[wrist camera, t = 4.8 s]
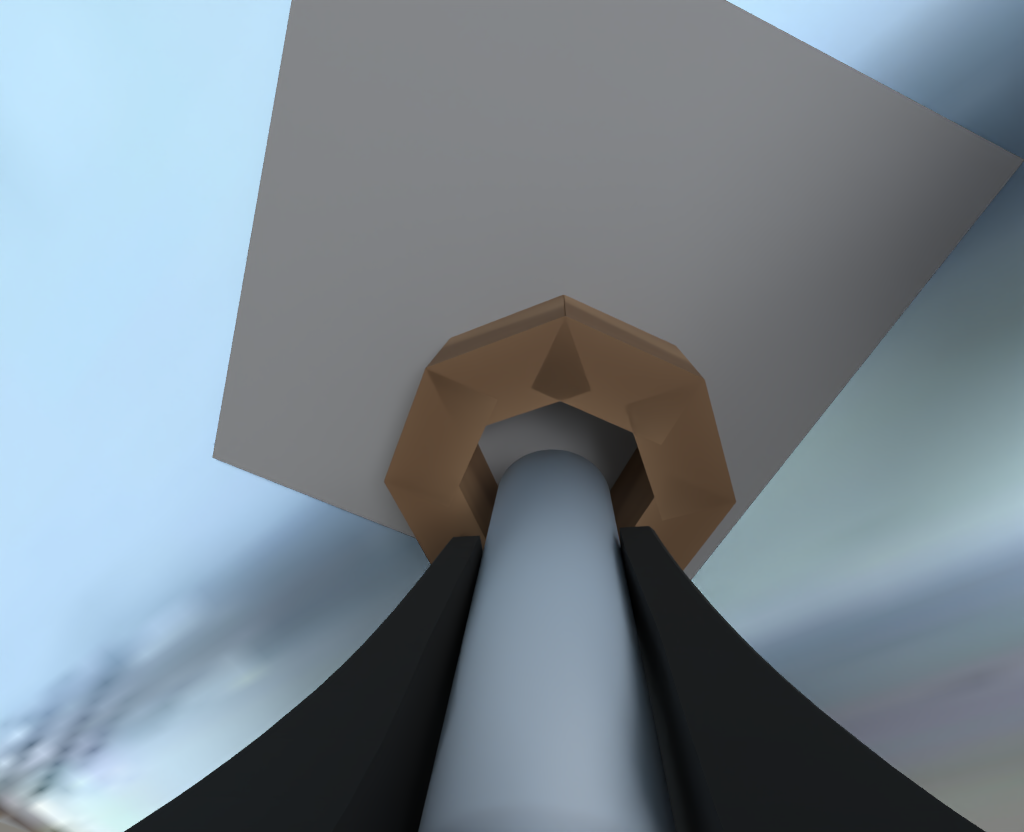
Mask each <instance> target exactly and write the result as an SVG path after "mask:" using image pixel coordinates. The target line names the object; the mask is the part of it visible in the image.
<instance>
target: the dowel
mask: <svg viewBox="0 0 1024 832" xmlns="http://www.w3.org/2000/svg"><path fill="white" fill-rule="evenodd" d="M418 832H676V828H675V823H674V818H673V813H672V808H671V803H670V797H669V792H668V787H667V782H666V777H665V772H664V767H663V762H662V756H661V751H660V746H659V741H658V736H657V731H656V726H655V721H654V715H653V710H652V705H651V700H650V695H649V690H648V685H647V680H646V674H645V669H644V664H643V659H642V654H641V649H640V644H639V639H638V634H637V628H636V623H635V618H634V613H633V608H632V603H631V598H630V593H629V588H628V583H627V578H626V573H625V568H624V563H623V557H622V552H621V546H620V541H619V536H618V531H617V526H616V521H615V516H614V511H613V505H612V500H611V495H610V490H609V486H608V484H607V481H606V479H605V478H604V476H603V474H602V473H601V472H600V470H599V469H598V468H597V467H596V466H595V465H594V464H593V463H591V462H590V461H589V460H587V459H586V458H584V457H582V456H580V455H578V454H575V453H572V452H569V451H564V450H555V449H550V450H541V451H536V452H533V453H530V454H527V455H525V456H523V457H521V458H520V459H518V460H517V461H515V462H514V463H513V464H512V465H511V466H510V467H509V468H508V469H507V470H506V472H505V473H504V475H503V476H502V478H501V481H500V483H499V486H498V490H497V494H496V499H495V503H494V507H493V512H492V516H491V520H490V525H489V529H488V533H487V537H486V542H485V546H484V550H483V555H482V559H481V563H480V568H479V572H478V576H477V581H476V585H475V589H474V593H473V598H472V602H471V606H470V611H469V615H468V619H467V624H466V628H465V632H464V636H463V641H462V645H461V649H460V654H459V658H458V662H457V667H456V671H455V675H454V679H453V684H452V688H451V692H450V697H449V701H448V705H447V710H446V714H445V718H444V723H443V727H442V731H441V735H440V740H439V744H438V748H437V753H436V757H435V761H434V766H433V770H432V774H431V778H430V783H429V787H428V791H427V796H426V800H425V804H424V809H423V813H422V817H421V821H420V826H419V830H418Z"/></svg>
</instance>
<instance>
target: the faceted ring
mask: <svg viewBox="0 0 1024 832" xmlns="http://www.w3.org/2000/svg"><path fill="white" fill-rule="evenodd" d="M559 401H561V402H564V403H566V404H568V405H571V406H573V407H575V408H577V409H580V410H582V411H584V412H587V413H589V414H591V415H594V416H596V417H598V418H600V419H603V420H605V421H607V422H610V423H612V424H614V425H616V426H619V427H621V428H623V429H626V430H628V431H630V432H632V433H633V434H634V437H635V440H636V443H637V446H638V447H637V448H636V450H635V452H634V453H633V455H632V456H631V458H630V460H629V461H628V463H627V464H626V466H625V468H624V469H623V471H622V472H621V474H620V476H619V477H618V479H617V480H616V482H615V484H614V485H613V487H612V488H611V490H610V495H611V500H612V505H613V511H614V516H615V521H616V526H617V531H618V536H619V541H620V528H621V527H639V526H650V527H651V528H652V529H653V530H654V531H655V532H656V534H657V535H658V537H659V538H660V540H661V541H662V543H663V544H664V546H665V547H666V549H667V550H668V552H669V553H670V554H671V556H672V557H673V558H674V560H675V561H676V562H677V564H678V565H679V566H680V568H681V569H682V570H684V569H685V568H686V566H687V565H688V564H689V563H690V561H691V560H692V559H693V557H694V556H695V555H696V554H697V552H698V551H699V550H700V548H701V547H702V546H703V545H704V543H705V542H706V541H707V539H708V538H709V537H710V535H711V534H712V533H713V532H714V530H715V529H716V528H717V526H718V525H719V524H720V523H721V521H722V520H723V519H724V517H725V516H726V515H727V514H728V512H729V511H730V510H731V508H732V507H733V506H734V505H735V503H736V499H735V495H734V491H733V487H732V483H731V479H730V475H729V471H728V468H727V464H726V460H725V456H724V452H723V448H722V444H721V440H720V437H719V433H718V429H717V425H716V421H715V417H714V413H713V409H712V405H711V402H710V398H709V394H708V390H707V386H706V382H705V379H704V378H703V377H702V376H701V375H700V373H699V372H698V371H697V370H696V369H695V367H694V366H693V365H692V364H691V363H690V362H689V360H688V359H687V358H686V357H685V356H684V355H683V353H682V352H681V351H680V350H679V349H678V348H677V346H675V345H673V344H671V343H669V342H667V341H665V340H662V339H660V338H658V337H656V336H654V335H651V334H649V333H647V332H645V331H643V330H641V329H638V328H636V327H634V326H632V325H630V324H627V323H625V322H623V321H621V320H619V319H617V318H614V317H612V316H610V315H608V314H606V313H603V312H601V311H599V310H597V309H595V308H592V307H590V306H588V305H586V304H584V303H582V302H579V301H577V300H575V299H573V298H571V297H568V296H566V295H561V296H558V297H556V298H553V299H550V300H548V301H545V302H542V303H540V304H537V305H535V306H532V307H529V308H527V309H524V310H522V311H519V312H516V313H514V314H511V315H509V316H506V317H503V318H501V319H498V320H496V321H493V322H490V323H488V324H485V325H483V326H480V327H477V328H475V329H472V330H470V331H467V332H464V333H462V334H459V335H457V336H454V337H451V338H450V339H449V340H448V341H447V342H446V344H445V345H444V346H443V347H442V349H441V350H440V351H439V352H438V353H437V355H436V356H435V357H434V358H433V360H432V361H431V362H430V363H429V364H428V366H427V367H426V368H425V370H424V373H423V376H422V379H421V381H420V384H419V387H418V389H417V392H416V395H415V398H414V400H413V403H412V406H411V409H410V411H409V414H408V417H407V419H406V422H405V425H404V428H403V430H402V433H401V436H400V438H399V441H398V444H397V447H396V449H395V452H394V455H393V458H392V460H391V463H390V466H389V468H388V471H387V474H386V477H385V479H384V483H385V485H386V486H387V488H388V490H389V492H390V493H391V495H392V497H393V499H394V500H395V502H396V504H397V506H398V507H399V509H400V511H401V513H402V514H403V516H404V518H405V520H406V522H407V523H408V525H409V527H410V529H411V530H412V532H413V534H414V536H415V537H416V539H417V541H418V543H419V544H420V546H421V548H422V550H423V551H424V553H425V555H426V557H427V558H428V560H429V562H430V564H432V563H433V561H434V560H435V559H436V558H437V556H438V555H439V554H440V552H441V551H442V550H443V549H444V547H445V546H446V545H447V544H448V542H449V541H450V540H451V539H452V538H453V537H463V536H480V539H481V544H482V549H483V550H484V546H485V542H486V537H487V533H488V529H489V525H490V520H491V516H492V512H493V507H494V503H495V499H496V494H497V490H498V485H497V483H496V481H495V479H494V477H493V475H492V472H491V470H490V468H489V466H488V464H487V462H486V460H485V457H484V455H483V453H482V451H481V449H480V447H479V445H478V442H479V440H480V438H481V436H482V433H483V431H484V429H485V427H486V425H489V424H492V423H496V422H499V421H502V420H505V419H508V418H511V417H514V416H517V415H520V414H523V413H526V412H529V411H532V410H535V409H538V408H541V407H544V406H547V405H550V404H553V403H556V402H559Z"/></svg>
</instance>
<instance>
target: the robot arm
mask: <svg viewBox="0 0 1024 832" xmlns="http://www.w3.org/2000/svg"><path fill="white" fill-rule="evenodd" d="M620 546H621V552H622V557H623V563H624V568H625V573H626V578H627V583H628V588H629V593H630V598H631V603H632V608H633V613H634V618H635V623H636V628H637V634H638V639H639V644H640V649H641V654H642V659H643V664H644V669H645V674H646V680H647V685H648V690H649V695H650V700H651V705H652V710H653V715H654V721H655V726H656V731H657V736H658V741H659V746H660V751H661V756H662V762H663V767H664V772H665V777H666V782H667V787H668V792H669V797H670V803H671V808H672V813H673V818H674V823H675V828H676V832H985V831H984V830H982V829H980V828H979V827H977V826H976V825H974V824H973V823H971V822H970V821H968V820H967V819H965V818H964V817H962V816H961V815H959V814H958V813H956V812H955V811H953V810H952V809H951V808H949V807H948V806H946V805H945V804H943V803H942V802H941V801H939V800H938V799H936V798H935V797H934V796H932V795H931V794H929V793H928V792H927V791H925V790H924V789H923V788H921V787H920V786H918V785H917V784H916V783H914V782H913V781H912V780H910V779H909V778H907V777H906V776H905V775H903V774H902V773H901V772H899V771H898V770H896V769H895V768H894V767H892V766H891V765H890V764H888V763H887V762H886V761H885V760H883V759H882V758H881V757H880V756H878V755H877V754H876V753H875V752H873V751H872V750H871V749H869V748H868V747H867V746H866V745H864V744H863V743H862V742H861V741H859V740H858V739H857V738H856V737H854V736H853V735H852V734H850V733H849V732H848V731H847V730H845V729H844V728H843V727H842V726H840V725H839V724H838V723H837V722H835V721H834V720H833V719H831V718H830V717H829V716H828V715H826V714H825V713H824V712H823V711H822V710H820V709H819V708H818V707H817V706H816V705H815V704H813V703H812V702H811V701H810V700H809V699H808V698H806V697H805V696H804V695H803V694H802V693H801V692H800V691H798V690H797V689H796V688H795V687H794V686H793V685H791V684H790V683H789V682H788V681H787V680H786V679H785V678H784V677H783V676H782V675H780V674H779V673H778V672H777V671H776V670H775V669H774V668H773V667H772V666H771V665H770V664H769V663H767V662H766V661H765V660H764V659H763V658H762V657H761V656H760V655H759V654H758V653H757V652H756V651H755V650H754V649H753V648H752V647H751V646H750V645H749V644H748V643H747V642H746V641H745V640H744V639H743V638H742V637H741V636H740V635H739V634H738V633H737V632H736V631H735V630H734V629H733V628H732V627H731V625H730V624H729V623H728V622H727V621H726V620H725V619H724V618H723V617H722V616H721V615H720V614H719V613H718V611H717V610H716V609H715V608H714V607H713V606H712V605H711V604H710V603H709V601H708V600H707V599H706V598H705V597H704V595H703V594H702V593H701V592H700V591H699V590H698V588H697V587H696V586H695V585H694V584H693V583H692V581H691V580H690V579H689V578H688V576H687V575H686V574H685V573H684V571H683V570H682V569H681V568H680V566H679V565H678V564H677V562H676V561H675V560H674V558H673V557H672V556H671V554H670V553H669V552H668V550H667V549H666V547H665V546H664V544H663V543H662V541H661V540H660V538H659V537H658V535H657V534H656V532H655V531H654V530H653V529H652V528H651V527H650V526H639V527H621V528H620ZM482 555H483V549H482V544H481V539H480V536H463V537H453V538H452V539H451V540H450V541H449V542H448V544H447V545H446V546H445V547H444V549H443V550H442V551H441V552H440V554H439V555H438V556H437V558H436V559H435V560H434V561H433V563H432V564H431V565H430V567H429V568H428V569H427V570H426V572H425V573H424V574H423V576H422V577H421V578H420V579H419V581H418V582H417V583H416V584H415V585H414V587H413V588H412V589H411V590H410V592H409V593H408V594H407V595H406V596H405V598H404V599H403V600H402V601H401V602H400V604H399V605H398V606H397V607H396V608H395V610H394V611H393V612H392V613H391V614H390V615H389V616H388V617H387V619H386V620H385V621H384V622H383V623H382V624H381V625H380V626H379V627H378V628H377V630H376V631H375V632H374V633H373V634H372V635H371V636H370V637H369V638H368V639H367V641H366V642H365V643H364V644H363V645H362V646H361V647H360V648H359V649H358V650H357V651H356V652H355V653H354V654H353V655H352V656H351V657H350V658H349V659H348V660H347V661H346V662H345V663H344V664H343V665H342V666H341V667H340V668H339V669H338V670H337V671H336V672H335V673H333V674H332V675H331V676H330V677H329V678H328V679H327V680H326V681H325V682H324V683H323V684H322V685H321V686H319V687H318V688H317V689H316V690H315V691H314V692H313V693H312V694H310V695H309V696H308V697H307V698H306V699H304V700H303V701H302V702H301V703H300V704H298V705H297V706H296V707H295V708H294V709H292V710H291V711H290V712H289V713H288V714H286V715H285V716H284V717H283V718H282V719H280V720H279V721H278V722H277V723H276V724H274V725H273V726H272V727H271V728H270V729H268V730H267V731H266V732H265V733H264V734H262V735H261V736H260V737H258V738H257V739H256V740H255V741H253V742H252V743H251V744H249V745H248V746H247V747H245V748H244V749H243V750H241V751H240V752H239V753H238V754H236V755H235V756H234V757H232V758H231V759H230V760H228V761H227V762H225V763H224V764H223V765H221V766H220V767H219V768H217V769H216V770H214V771H213V772H212V773H210V774H209V775H208V776H206V777H205V778H203V779H202V780H201V781H199V782H198V783H196V784H195V785H193V786H192V787H191V788H189V789H188V790H186V791H185V792H183V793H182V794H181V795H179V796H178V797H176V798H175V799H173V800H172V801H170V802H169V803H167V804H166V805H164V806H162V807H161V808H159V809H158V810H156V811H155V812H153V813H152V814H150V815H149V816H147V817H146V818H144V819H143V820H141V821H140V822H138V823H137V824H135V825H134V826H132V827H131V828H129V829H128V830H126V831H124V832H418V830H419V826H420V821H421V817H422V813H423V809H424V804H425V800H426V796H427V791H428V787H429V783H430V778H431V774H432V770H433V766H434V761H435V757H436V753H437V748H438V744H439V740H440V735H441V731H442V727H443V723H444V718H445V714H446V710H447V705H448V701H449V697H450V692H451V688H452V684H453V679H454V675H455V671H456V667H457V662H458V658H459V654H460V649H461V645H462V641H463V636H464V632H465V628H466V624H467V619H468V615H469V611H470V606H471V602H472V598H473V593H474V589H475V585H476V581H477V576H478V572H479V568H480V563H481V559H482Z"/></svg>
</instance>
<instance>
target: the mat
mask: <svg viewBox="0 0 1024 832" xmlns="http://www.w3.org/2000/svg"><path fill="white" fill-rule="evenodd" d="M1023 161H1024V159H1022V158H1020V157H1018V156H1016V155H1014V154H1013V153H1011V152H1009V151H1007V150H1005V149H1003V148H1001V147H999V146H998V145H996V144H994V143H992V142H990V141H988V140H986V139H984V138H983V137H981V136H979V135H977V134H975V133H973V132H971V131H969V130H968V129H966V128H964V127H962V126H960V125H958V124H956V123H955V122H953V121H951V120H949V119H947V118H945V117H943V116H941V115H940V114H938V113H936V112H934V111H932V110H930V109H928V108H926V107H925V106H923V105H921V104H919V103H917V102H915V101H913V100H911V99H910V98H908V97H906V96H904V95H902V94H900V93H898V92H896V91H895V90H893V89H891V88H889V87H887V86H885V85H883V84H881V83H880V82H878V81H876V80H874V79H872V78H870V77H868V76H867V75H865V74H863V73H861V72H859V71H857V70H855V69H853V68H852V67H850V66H848V65H846V64H844V63H842V62H840V61H838V60H837V59H835V58H833V57H831V56H829V55H827V54H825V53H823V52H822V51H820V50H818V49H816V48H814V47H812V46H810V45H808V44H807V43H805V42H803V41H801V40H799V39H797V38H795V37H793V36H792V35H790V34H788V33H786V32H784V31H782V30H780V29H778V28H777V27H775V26H773V25H771V24H769V23H767V22H765V21H764V20H762V19H760V18H758V17H756V16H754V15H752V14H750V13H749V12H747V11H745V10H743V9H741V8H739V7H737V6H735V5H734V4H732V3H730V2H728V1H726V0H292V2H291V8H290V13H289V19H288V25H287V31H286V36H285V42H284V48H283V54H282V60H281V65H280V71H279V77H278V83H277V88H276V94H275V100H274V106H273V111H272V117H271V123H270V129H269V135H268V140H267V146H266V152H265V158H264V163H263V169H262V175H261V181H260V186H259V192H258V198H257V204H256V210H255V215H254V221H253V227H252V233H251V238H250V244H249V250H248V256H247V261H246V267H245V273H244V279H243V285H242V290H241V296H240V302H239V308H238V313H237V319H236V325H235V331H234V336H233V342H232V348H231V354H230V360H229V365H228V371H227V377H226V383H225V388H224V394H223V400H222V406H221V411H220V417H219V423H218V429H217V435H216V440H215V446H214V452H213V458H215V459H217V460H220V461H222V462H225V463H227V464H230V465H232V466H235V467H237V468H240V469H243V470H245V471H248V472H250V473H253V474H255V475H258V476H260V477H263V478H265V479H268V480H270V481H273V482H275V483H278V484H280V485H283V486H285V487H288V488H290V489H293V490H295V491H298V492H300V493H303V494H305V495H308V496H310V497H313V498H316V499H318V500H321V501H323V502H326V503H328V504H331V505H333V506H336V507H338V508H341V509H343V510H346V511H348V512H351V513H353V514H356V515H358V516H361V517H363V518H366V519H368V520H371V521H373V522H376V523H378V524H381V525H383V526H386V527H389V528H391V529H394V530H396V531H399V532H401V533H404V534H406V535H409V536H411V537H414V538H416V537H415V536H414V534H413V532H412V530H411V529H410V527H409V525H408V523H407V522H406V520H405V518H404V516H403V514H402V513H401V511H400V509H399V507H398V506H397V504H396V502H395V500H394V499H393V497H392V495H391V493H390V492H389V490H388V488H387V486H386V485H385V483H384V479H385V477H386V474H387V471H388V468H389V466H390V463H391V460H392V458H393V455H394V452H395V449H396V447H397V444H398V441H399V438H400V436H401V433H402V430H403V428H404V425H405V422H406V419H407V417H408V414H409V411H410V409H411V406H412V403H413V400H414V398H415V395H416V392H417V389H418V387H419V384H420V381H421V379H422V376H423V373H424V370H425V368H426V367H427V366H428V364H429V363H430V362H431V361H432V360H433V358H434V357H435V356H436V355H437V353H438V352H439V351H440V350H441V349H442V347H443V346H444V345H445V344H446V342H447V341H448V340H449V339H450V338H451V337H454V336H457V335H459V334H462V333H464V332H467V331H470V330H472V329H475V328H477V327H480V326H483V325H485V324H488V323H490V322H493V321H496V320H498V319H501V318H503V317H506V316H509V315H511V314H514V313H516V312H519V311H522V310H524V309H527V308H529V307H532V306H535V305H537V304H540V303H542V302H545V301H548V300H550V299H553V298H556V297H558V296H561V295H566V296H568V297H571V298H573V299H575V300H577V301H579V302H582V303H584V304H586V305H588V306H590V307H592V308H595V309H597V310H599V311H601V312H603V313H606V314H608V315H610V316H612V317H614V318H617V319H619V320H621V321H623V322H625V323H627V324H630V325H632V326H634V327H636V328H638V329H641V330H643V331H645V332H647V333H649V334H651V335H654V336H656V337H658V338H660V339H662V340H665V341H667V342H669V343H671V344H673V345H675V346H677V348H678V349H679V350H680V351H681V352H682V353H683V355H684V356H685V357H686V358H687V359H688V360H689V362H690V363H691V364H692V365H693V366H694V367H695V369H696V370H697V371H698V372H699V373H700V375H701V376H702V377H703V378H704V379H705V382H706V386H707V390H708V394H709V398H710V402H711V405H712V409H713V413H714V417H715V421H716V425H717V429H718V433H719V437H720V440H721V444H722V448H723V452H724V456H725V460H726V464H727V468H728V471H729V475H730V479H731V483H732V487H733V491H734V495H735V499H736V503H735V505H734V506H733V507H732V508H731V510H730V511H729V512H728V514H727V515H726V516H725V517H724V519H723V520H722V521H721V523H720V524H719V525H718V526H717V528H716V529H715V530H714V532H713V533H712V534H711V535H710V537H709V538H708V539H707V541H706V542H705V543H704V545H703V546H702V547H701V548H700V550H699V551H698V552H697V554H696V555H695V556H694V557H693V559H692V560H691V561H690V563H689V564H688V565H687V566H686V568H685V569H684V570H683V571H684V573H685V574H686V575H687V576H688V578H689V579H690V580H691V579H692V578H693V577H694V576H695V574H696V573H697V572H698V571H699V569H700V568H701V567H702V566H703V564H704V563H705V562H706V561H707V559H708V558H709V557H710V556H711V554H712V553H713V552H714V550H715V549H716V548H717V547H718V545H719V544H720V543H721V542H722V540H723V539H724V538H725V537H726V535H727V534H728V533H729V532H730V530H731V529H732V528H733V527H734V525H735V524H736V523H737V521H738V520H739V519H740V518H741V516H742V515H743V514H744V513H745V511H746V510H747V509H748V508H749V506H750V505H751V504H752V503H753V501H754V500H755V499H756V498H757V496H758V495H759V494H760V493H761V491H762V490H763V489H764V487H765V486H766V485H767V484H768V482H769V481H770V480H771V479H772V477H773V476H774V475H775V474H776V472H777V471H778V470H779V469H780V467H781V466H782V465H783V464H784V462H785V461H786V460H787V458H788V457H789V456H790V455H791V453H792V452H793V451H794V450H795V448H796V447H797V446H798V445H799V443H800V442H801V441H802V440H803V438H804V437H805V436H806V435H807V433H808V432H809V431H810V430H811V428H812V427H813V426H814V424H815V423H816V422H817V421H818V419H819V418H820V417H821V416H822V414H823V413H824V412H825V411H826V409H827V408H828V407H829V406H830V404H831V403H832V402H833V401H834V399H835V398H836V397H837V396H838V394H839V393H840V392H841V390H842V389H843V388H844V387H845V385H846V384H847V383H848V382H849V380H850V379H851V378H852V377H853V375H854V374H855V373H856V372H857V370H858V369H859V368H860V367H861V365H862V364H863V363H864V361H865V360H866V359H867V358H868V356H869V355H870V354H871V353H872V351H873V350H874V349H875V348H876V346H877V345H878V344H879V343H880V341H881V340H882V339H883V338H884V336H885V335H886V334H887V333H888V331H889V330H890V329H891V327H892V326H893V325H894V324H895V322H896V321H897V320H898V319H899V317H900V316H901V315H902V314H903V312H904V311H905V310H906V309H907V307H908V306H909V305H910V304H911V302H912V301H913V300H914V298H915V297H916V296H917V295H918V293H919V292H920V291H921V290H922V288H923V287H924V286H925V285H926V283H927V282H928V281H929V280H930V278H931V277H932V276H933V275H934V273H935V272H936V271H937V270H938V268H939V267H940V266H941V264H942V263H943V262H944V261H945V259H946V258H947V257H948V256H949V254H950V253H951V252H952V251H953V249H954V248H955V247H956V246H957V244H958V243H959V242H960V241H961V239H962V238H963V237H964V236H965V234H966V233H967V232H968V230H969V229H970V228H971V227H972V225H973V224H974V223H975V222H976V220H977V219H978V218H979V217H980V215H981V214H982V213H983V212H984V210H985V209H986V208H987V207H988V205H989V204H990V203H991V201H992V200H993V199H994V198H995V196H996V195H997V194H998V193H999V191H1000V190H1001V189H1002V188H1003V186H1004V185H1005V184H1006V183H1007V181H1008V180H1009V179H1010V178H1011V176H1012V175H1013V174H1014V173H1015V171H1016V170H1017V169H1018V167H1019V166H1020V165H1021V164H1022V162H1023ZM478 445H479V447H480V449H481V451H482V453H483V455H484V457H485V460H486V462H487V464H488V466H489V468H490V470H491V472H492V475H493V477H494V479H495V481H496V483H497V485H498V486H499V483H500V481H501V478H502V476H503V475H504V473H505V472H506V470H507V469H508V468H509V467H510V466H511V465H512V464H513V463H514V462H515V461H517V460H518V459H520V458H521V457H523V456H525V455H527V454H530V453H533V452H536V451H541V450H550V449H555V450H564V451H569V452H572V453H575V454H578V455H580V456H582V457H584V458H586V459H587V460H589V461H590V462H591V463H593V464H594V465H595V466H596V467H597V468H598V469H599V470H600V472H601V473H602V474H603V476H604V478H605V479H606V481H607V484H608V486H609V490H611V488H612V487H613V485H614V484H615V482H616V480H617V479H618V477H619V476H620V474H621V472H622V471H623V469H624V468H625V466H626V464H627V463H628V461H629V460H630V458H631V456H632V455H633V453H634V452H635V450H636V448H637V447H638V446H637V443H636V440H635V437H634V434H633V433H632V432H630V431H628V430H626V429H623V428H621V427H619V426H616V425H614V424H612V423H610V422H607V421H605V420H603V419H600V418H598V417H596V416H594V415H591V414H589V413H587V412H584V411H582V410H580V409H577V408H575V407H573V406H571V405H568V404H566V403H564V402H561V401H559V402H556V403H553V404H550V405H547V406H544V407H541V408H538V409H535V410H532V411H529V412H526V413H523V414H520V415H517V416H514V417H511V418H508V419H505V420H502V421H499V422H496V423H492V424H489V425H486V427H485V429H484V431H483V433H482V436H481V438H480V440H479V442H478Z"/></svg>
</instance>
